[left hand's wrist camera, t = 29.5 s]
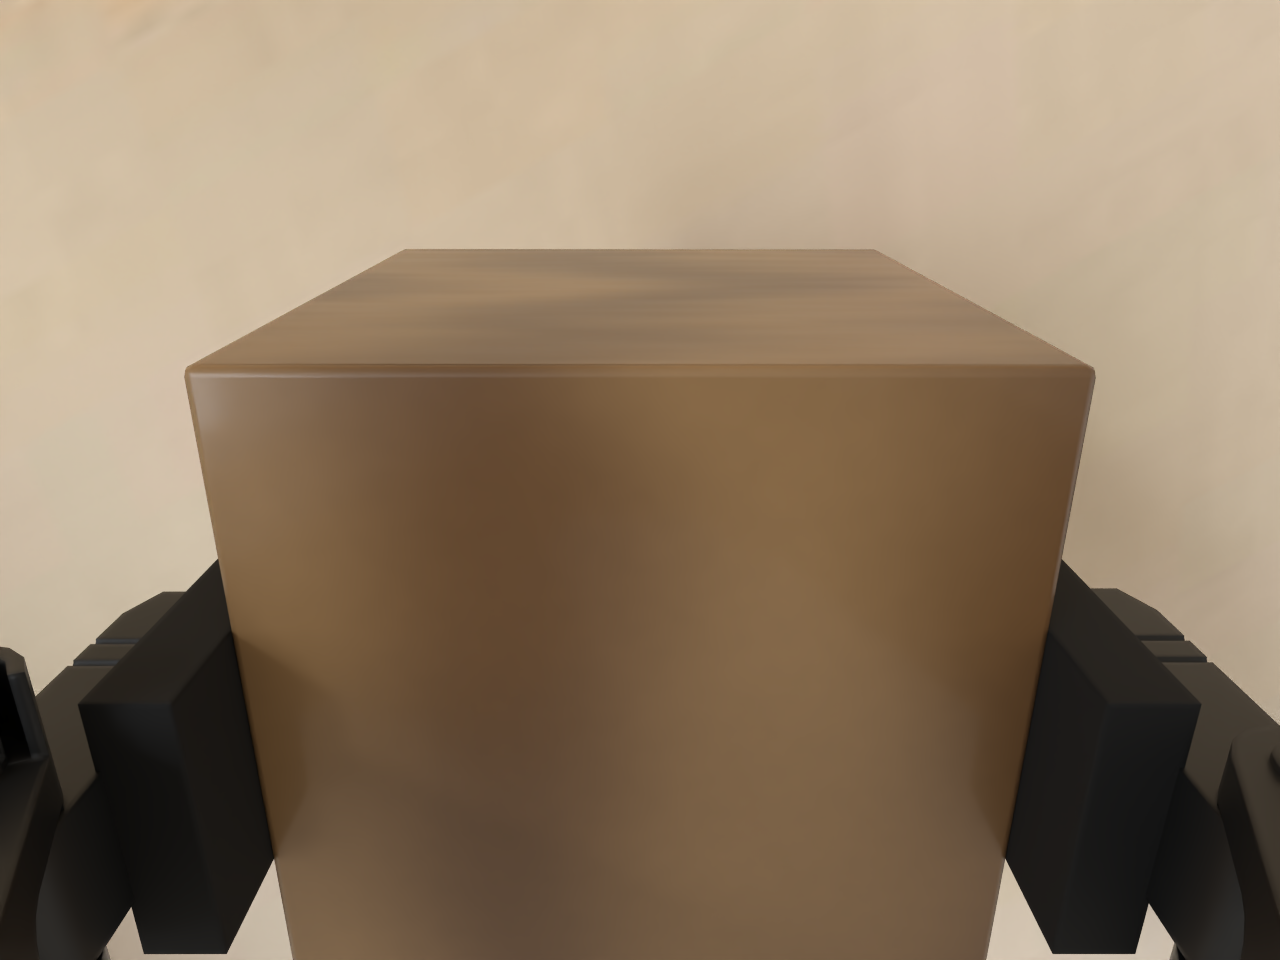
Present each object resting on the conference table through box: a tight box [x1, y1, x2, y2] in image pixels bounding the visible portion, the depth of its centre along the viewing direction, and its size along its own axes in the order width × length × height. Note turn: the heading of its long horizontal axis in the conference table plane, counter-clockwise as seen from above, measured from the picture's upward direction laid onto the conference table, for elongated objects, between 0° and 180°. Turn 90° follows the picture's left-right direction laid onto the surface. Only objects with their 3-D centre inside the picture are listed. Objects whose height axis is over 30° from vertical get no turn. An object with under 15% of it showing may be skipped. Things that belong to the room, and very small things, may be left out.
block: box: [185, 249, 1096, 960], centre depth 12 cm, size 8×8×8 cm
